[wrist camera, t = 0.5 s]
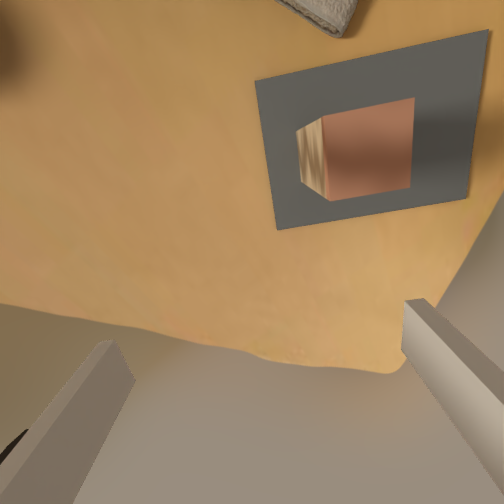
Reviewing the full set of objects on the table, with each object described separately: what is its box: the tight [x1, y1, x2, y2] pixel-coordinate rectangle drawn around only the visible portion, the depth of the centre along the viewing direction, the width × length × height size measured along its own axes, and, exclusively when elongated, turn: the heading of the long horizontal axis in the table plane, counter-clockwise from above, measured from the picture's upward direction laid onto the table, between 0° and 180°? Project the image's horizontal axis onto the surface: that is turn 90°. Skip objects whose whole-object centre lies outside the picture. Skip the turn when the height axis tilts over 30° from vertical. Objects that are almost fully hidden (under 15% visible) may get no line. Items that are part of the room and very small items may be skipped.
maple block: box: [296, 97, 415, 201], centre depth 24 cm, size 6×6×14 cm
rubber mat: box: [255, 29, 489, 230], centre depth 31 cm, size 18×25×1 cm
